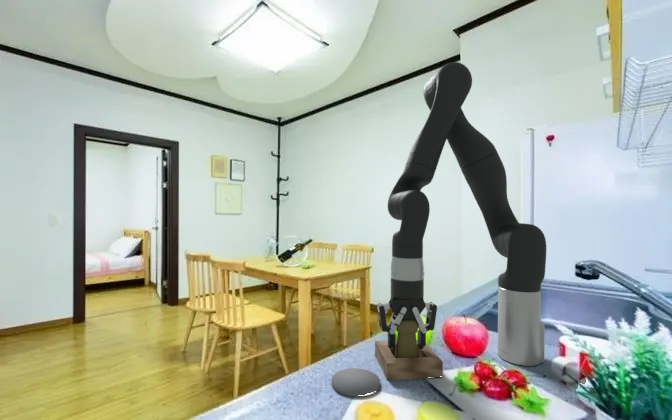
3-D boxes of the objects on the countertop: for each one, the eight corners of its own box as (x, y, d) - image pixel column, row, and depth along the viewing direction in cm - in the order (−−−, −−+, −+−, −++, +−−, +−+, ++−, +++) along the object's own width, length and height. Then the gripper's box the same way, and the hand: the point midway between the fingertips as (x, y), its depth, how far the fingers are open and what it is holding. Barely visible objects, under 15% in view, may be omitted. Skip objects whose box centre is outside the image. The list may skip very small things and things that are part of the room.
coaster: (374, 371, 74) (374, 367, 74) (385, 395, 64) (385, 391, 64) (329, 372, 73) (329, 369, 73) (333, 398, 63) (333, 393, 63)
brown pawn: (417, 360, 79) (418, 314, 79) (421, 372, 73) (422, 323, 73) (392, 359, 80) (392, 313, 80) (394, 371, 74) (394, 322, 74)
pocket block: (422, 353, 83) (422, 339, 83) (442, 377, 71) (442, 361, 71) (375, 355, 82) (375, 341, 82) (387, 380, 70) (387, 363, 70)
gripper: (430, 272, 81) (430, 341, 81) (373, 273, 80) (372, 342, 79) (443, 279, 73) (443, 354, 73) (380, 279, 72) (379, 356, 72)
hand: (406, 348), depth 76 cm, fingers open, 6 cm apart
